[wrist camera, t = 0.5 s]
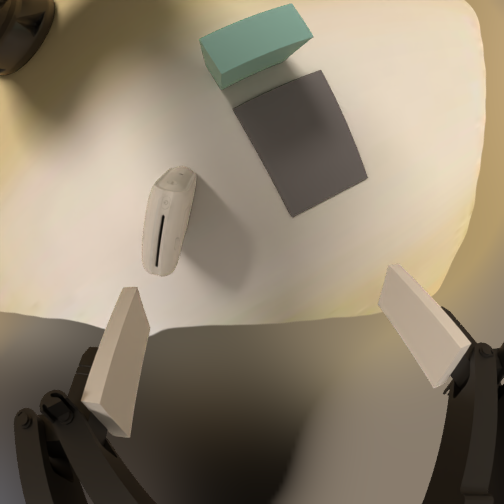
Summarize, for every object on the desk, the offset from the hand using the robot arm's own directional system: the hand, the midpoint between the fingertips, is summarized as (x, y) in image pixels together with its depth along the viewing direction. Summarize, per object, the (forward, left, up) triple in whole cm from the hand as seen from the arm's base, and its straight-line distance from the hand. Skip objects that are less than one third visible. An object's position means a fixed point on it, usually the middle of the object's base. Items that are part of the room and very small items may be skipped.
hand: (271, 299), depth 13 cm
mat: (0, +11, -25) cm, 27 cm away
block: (-14, +9, -25) cm, 30 cm away
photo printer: (-2, -8, -25) cm, 26 cm away
